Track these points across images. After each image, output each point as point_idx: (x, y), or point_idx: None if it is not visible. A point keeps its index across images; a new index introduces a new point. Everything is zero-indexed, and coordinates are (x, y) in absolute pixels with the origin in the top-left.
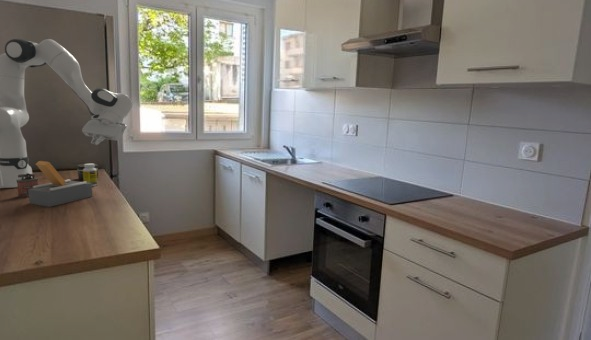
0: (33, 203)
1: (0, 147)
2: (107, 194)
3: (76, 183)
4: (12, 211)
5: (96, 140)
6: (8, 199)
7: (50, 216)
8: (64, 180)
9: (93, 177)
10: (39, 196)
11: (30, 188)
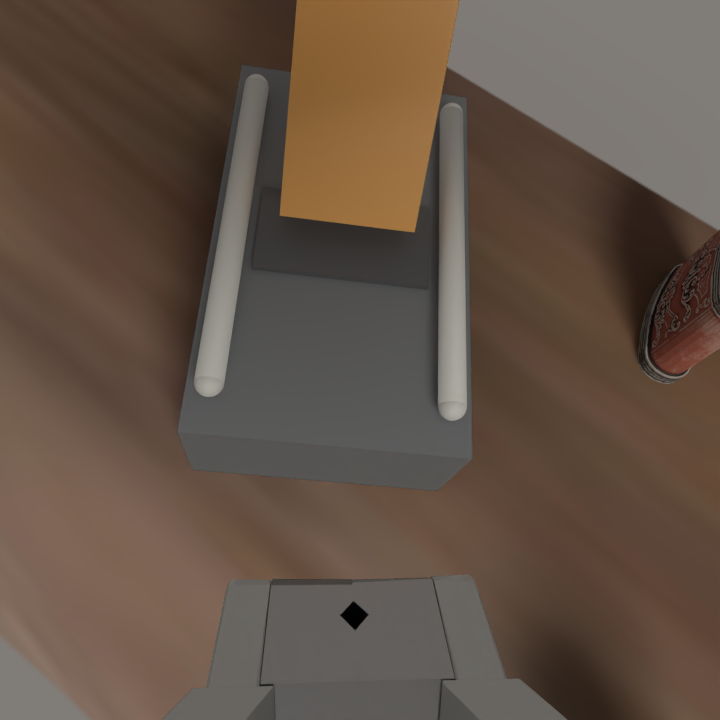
0: None
1: None
2: (107, 593)
3: (218, 272)
4: None
5: (253, 654)
6: (656, 206)
7: (65, 14)
8: (283, 183)
9: None
10: None
11: (679, 293)
